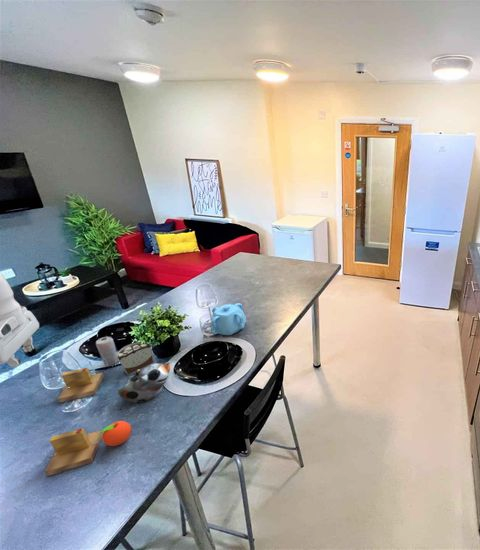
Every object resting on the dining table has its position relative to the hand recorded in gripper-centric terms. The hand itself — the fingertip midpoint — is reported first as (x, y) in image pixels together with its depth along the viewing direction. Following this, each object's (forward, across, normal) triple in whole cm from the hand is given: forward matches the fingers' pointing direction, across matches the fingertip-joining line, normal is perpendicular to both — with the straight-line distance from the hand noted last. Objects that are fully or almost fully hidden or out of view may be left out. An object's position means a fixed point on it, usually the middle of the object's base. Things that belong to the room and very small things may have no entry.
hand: (23, 357), depth 89 cm
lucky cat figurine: (+25, -1, +27) cm, 37 cm away
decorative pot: (+25, -33, +56) cm, 70 cm away
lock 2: (+23, -11, +4) cm, 26 cm away
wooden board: (+25, +20, +12) cm, 34 cm away
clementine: (+25, +20, +22) cm, 39 cm away
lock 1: (+23, +20, +12) cm, 33 cm away
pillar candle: (+25, -24, +10) cm, 36 cm away
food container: (+25, -18, +20) cm, 37 cm away
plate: (+25, -11, +4) cm, 28 cm away
